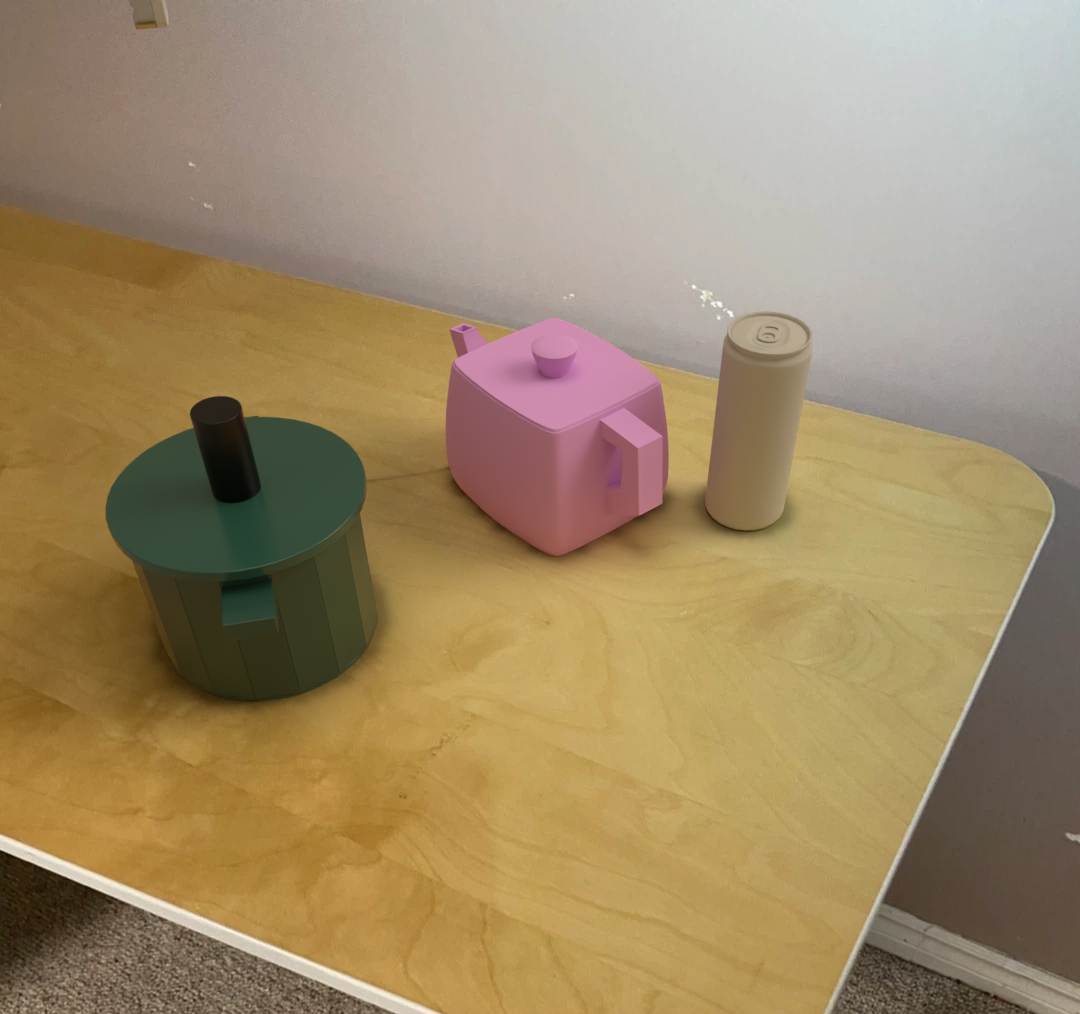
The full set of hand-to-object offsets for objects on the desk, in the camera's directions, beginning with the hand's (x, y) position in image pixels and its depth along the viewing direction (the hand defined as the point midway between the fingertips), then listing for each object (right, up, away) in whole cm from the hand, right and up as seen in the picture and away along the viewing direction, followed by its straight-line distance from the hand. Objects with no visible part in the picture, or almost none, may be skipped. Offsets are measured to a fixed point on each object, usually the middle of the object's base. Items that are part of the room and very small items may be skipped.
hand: (47, 31), depth 51 cm
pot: (+8, -27, +11) cm, 30 cm away
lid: (+8, -21, +5) cm, 22 cm away
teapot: (+23, -17, +20) cm, 35 cm away
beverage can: (+35, -19, +18) cm, 44 cm away
